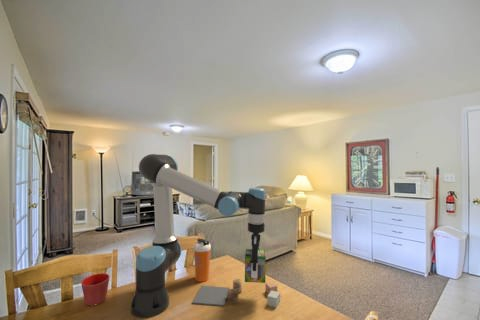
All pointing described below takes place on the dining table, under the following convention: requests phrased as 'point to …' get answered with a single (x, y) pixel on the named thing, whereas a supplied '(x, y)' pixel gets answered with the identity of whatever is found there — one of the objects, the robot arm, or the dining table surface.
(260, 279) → the chalk box
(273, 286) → the terracotta cube
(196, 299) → the mat
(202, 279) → the shaker bottle
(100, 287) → the flower pot
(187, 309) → the dining table surface
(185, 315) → the dining table surface
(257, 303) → the dining table surface
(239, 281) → the oak cylinder
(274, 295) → the grey plastic block
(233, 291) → the walnut block
